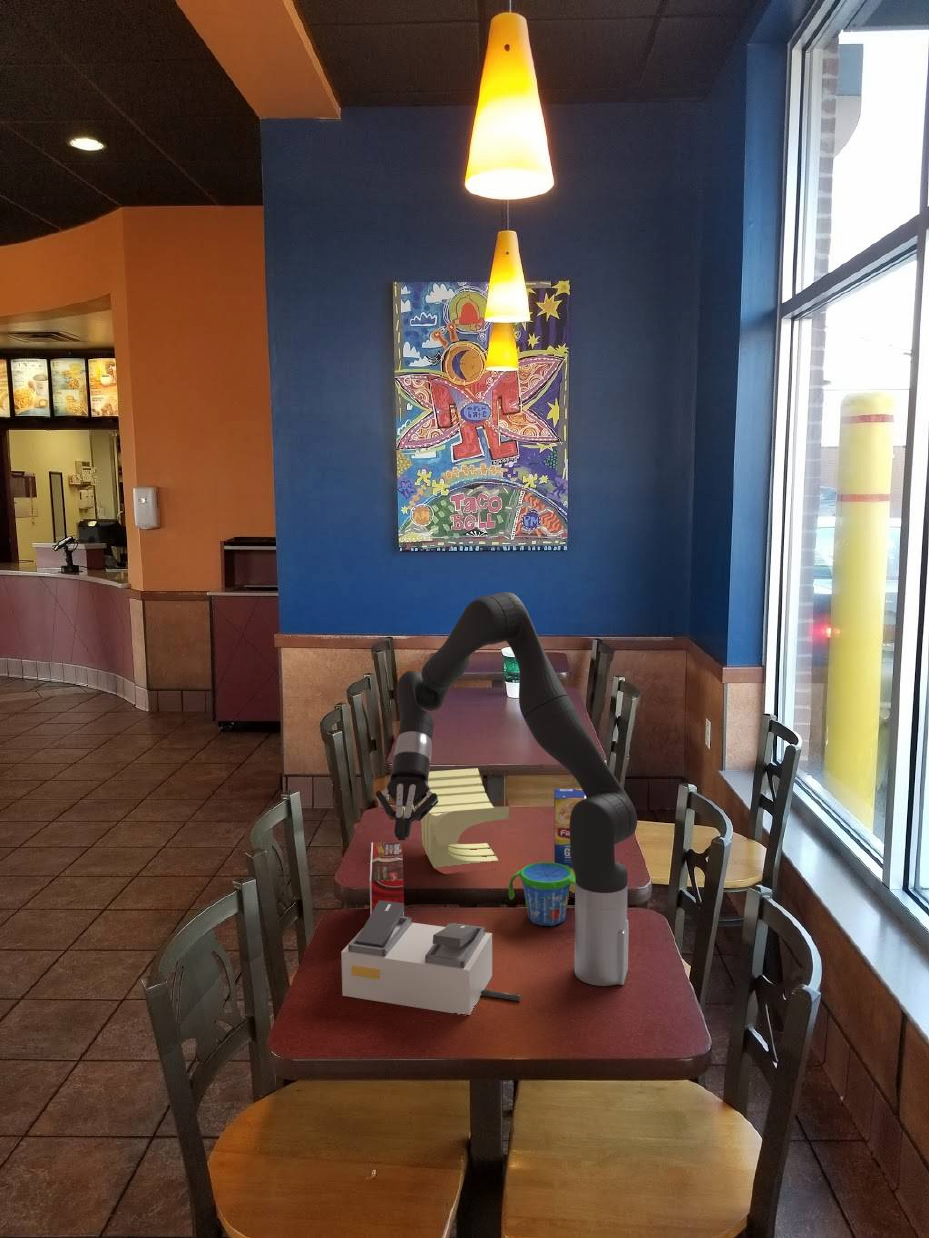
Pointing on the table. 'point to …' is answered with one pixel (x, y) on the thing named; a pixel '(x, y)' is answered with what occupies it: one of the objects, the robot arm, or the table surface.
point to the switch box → (421, 970)
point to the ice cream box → (386, 873)
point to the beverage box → (564, 825)
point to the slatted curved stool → (457, 818)
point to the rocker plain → (455, 935)
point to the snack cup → (545, 891)
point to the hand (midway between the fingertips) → (401, 838)
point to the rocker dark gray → (381, 924)
